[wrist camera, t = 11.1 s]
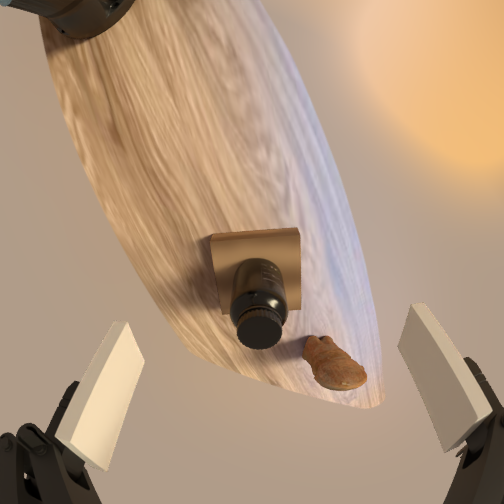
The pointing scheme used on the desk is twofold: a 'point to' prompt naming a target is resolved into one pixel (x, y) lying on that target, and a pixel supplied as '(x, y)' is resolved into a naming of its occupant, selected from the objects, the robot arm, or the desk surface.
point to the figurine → (333, 365)
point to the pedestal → (257, 246)
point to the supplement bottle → (258, 303)
